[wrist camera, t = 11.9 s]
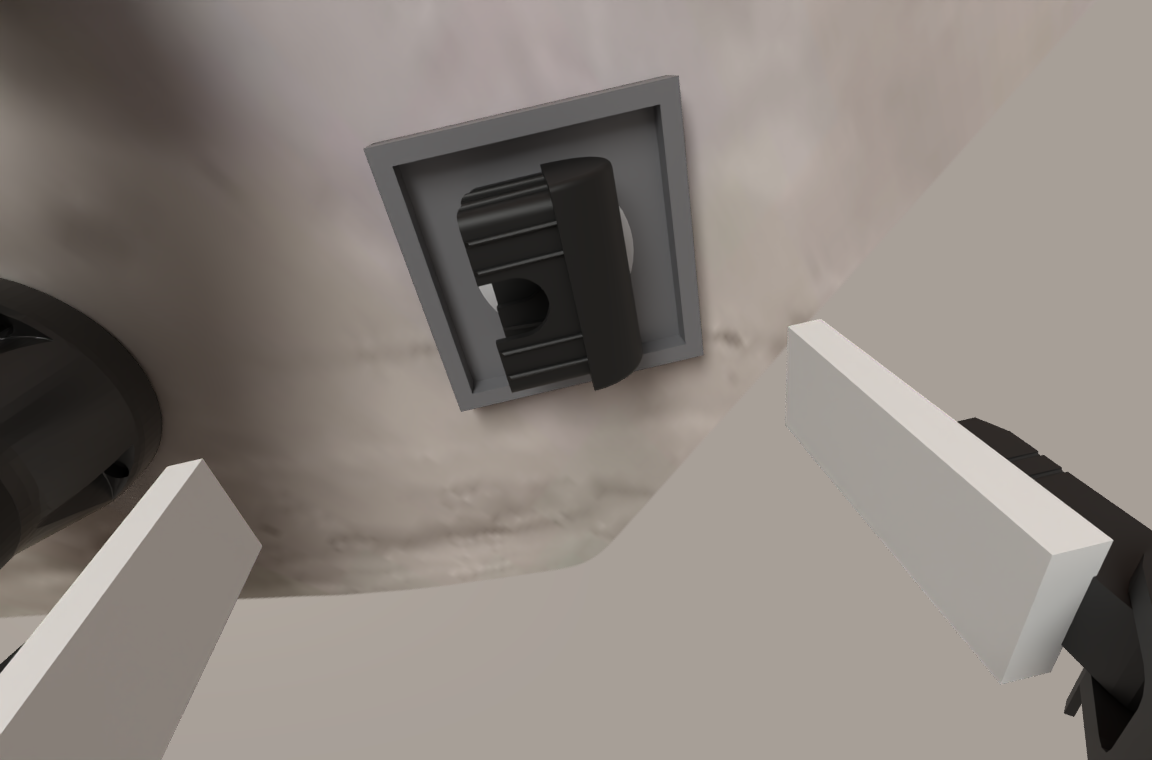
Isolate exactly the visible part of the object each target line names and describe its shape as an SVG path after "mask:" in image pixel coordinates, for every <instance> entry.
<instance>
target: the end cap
mask: <svg viewBox="0 0 1152 760" xmlns="http://www.w3.org/2000/svg"><path fill="white" fill-rule="evenodd" d="M540 167H541V172H539V173H535V174H531V175H527V176H522V177H518V178H514V179H510V180H506V181H502V182H498V183H494V184H490V185H486V186H481V187H477V188H475V189H473V190H471V191H470V192H469V193H467V194H465V195H464V197H463V198H462V200H461V207H460V209H458V212H457V222H458V226H459V230H460V233H461V237H462V240H463V243H464V246H465V249H466V252H467V255H468V258H469V262H470V265H471V268H472V271H473V274H474V277H475V280H476V283H477V286H478V287H479V286H483V285H487V284H491V283H492V287H493V290H494V293H495V297H496V300H497V303H498V305H497V311H498V314H499V317H500V321H501V324H502V327H503V330H504V334H505V337H506V338H502V339H498V340H496V346H497V349H498V352H499V355H500V358H501V361H502V364H503V368H504V371H505V374H506V377H507V380H508V383H509V386H510V389H511V392H512V393H514V392H518V391H522V390H526V389H531V388H535V387H539V386H543V385H547V384H551V383H555V382H559V381H563V380H568V379H572V378H576V377H580V376H584V375H588V374H590V375H591V379H592V382H593V386H594V389H595V391H596V390H599V389H603V388H606V387H608V386H611V385H613V384H616V383H618V382H619V381H621V380H623V379H625V378H626V377H627V376H628V375H630V374H631V373H632V372H633V371H634V370H635V369H636V368H637V367H638V366H639V364H640V362H641V360H642V355H643V348H642V342H641V336H640V330H639V324H638V318H637V312H636V306H635V300H634V294H633V288H632V282H631V276H630V270H629V264H628V258H627V252H626V246H625V240H624V234H623V228H622V221H621V215H620V209H619V203H618V197H617V191H616V185H615V179H614V173H613V167H612V164H611V162H610V161H609V160H608V159H605V158H602V157H578V158H570V159H564V160H559V161H553V162H549V163H544V164H540Z"/></svg>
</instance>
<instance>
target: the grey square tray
mask: <svg viewBox="0 0 1152 760" xmlns="http://www.w3.org/2000/svg"><path fill="white" fill-rule="evenodd" d="M364 152H365V155H366V157H367V160H368V163H369V165H370V168H371V171H372V173H373V176H374V179H375V182H376V184H377V187H378V190H379V192H380V195H381V198H382V200H383V203H384V206H385V208H386V211H387V214H388V217H389V219H390V222H391V225H392V227H393V230H394V233H395V235H396V238H397V241H398V243H399V246H400V249H401V251H402V254H403V257H404V260H405V262H406V265H407V268H408V270H409V273H410V276H411V278H412V281H413V284H414V286H415V289H416V292H417V295H418V297H419V300H420V303H421V305H422V308H423V311H424V313H425V316H426V319H427V321H428V324H429V327H430V329H431V332H432V335H433V338H434V340H435V343H436V346H437V348H438V351H439V354H440V356H441V359H442V362H443V364H444V367H445V370H446V373H447V375H448V378H449V381H450V383H451V386H452V389H453V391H454V394H455V397H456V399H457V402H458V405H459V407H460V410H461V412H462V411H466V410H471V409H475V408H479V407H484V406H488V405H492V404H496V403H501V402H505V401H509V400H514V399H518V398H522V397H526V396H531V395H535V394H539V393H543V392H548V391H552V390H556V389H561V388H565V387H569V386H573V385H578V384H582V383H586V382H591V381H592V379H591V375H590V374H588V375H584V376H580V377H576V378H572V379H568V380H563V381H559V382H555V383H551V384H547V385H543V386H539V387H535V388H531V389H526V390H522V391H518V392H514V393H512V392H511V389H510V386H509V383H508V380H507V377H506V374H505V371H504V368H503V364H502V361H501V358H500V355H499V352H498V349H497V346H496V340H498V339H502V338H506V337H505V334H504V330H503V327H502V324H501V321H500V317H499V314H498V311H497V305H498V303H497V300H496V297H495V293H494V290H493V287H492V283H491V284H487V285H483V286H479V287H478V286H477V283H476V280H475V277H474V274H473V271H472V268H471V265H470V262H469V258H468V255H467V252H466V249H465V246H464V243H463V240H462V237H461V233H460V230H459V226H458V222H457V212H458V209H460V207H461V200H462V198H463V197H464V195H465V194H467V193H469V192H470V191H471V190H473V189H475V188H477V187H481V186H486V185H490V184H494V183H498V182H502V181H506V180H510V179H514V178H518V177H522V176H527V175H531V174H535V173H539V172H541V167H540V164H544V163H549V162H553V161H559V160H564V159H570V158H578V157H602V158H605V159H608V160H609V161H610V162H611V164H612V167H613V173H614V179H615V185H616V191H617V197H618V203H619V209H620V215H621V221H622V228H623V234H624V240H625V246H626V252H627V258H628V264H629V270H630V276H631V282H632V288H633V294H634V300H635V306H636V312H637V318H638V324H639V330H640V336H641V342H642V348H643V355H642V360H641V362H640V364H639V366H638V367H637V368H636V369H635V370H634V371H638V370H642V369H646V368H651V367H655V366H659V365H663V364H668V363H672V362H676V361H681V360H685V359H689V358H693V357H698V356H702V355H703V344H702V332H701V321H700V310H699V299H698V287H697V276H696V265H695V254H694V243H693V231H692V220H691V209H690V198H689V186H688V175H687V164H686V153H685V141H684V130H683V119H682V108H681V96H680V85H679V76H673V75H665V76H661V77H657V78H653V79H648V80H644V81H640V82H635V83H631V84H627V85H622V86H618V87H614V88H609V89H605V90H601V91H597V92H592V93H588V94H584V95H579V96H575V97H571V98H566V99H562V100H558V101H554V102H549V103H545V104H541V105H536V106H532V107H528V108H523V109H519V110H515V111H510V112H506V113H502V114H498V115H493V116H489V117H485V118H480V119H476V120H472V121H467V122H463V123H459V124H454V125H450V126H446V127H442V128H437V129H433V130H429V131H424V132H420V133H416V134H411V135H407V136H403V137H399V138H394V139H390V140H386V141H381V142H377V143H373V144H371V145H369V146H368V147H366V148H364Z"/></svg>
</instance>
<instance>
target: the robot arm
mask: <svg viewBox="0 0 1152 760" xmlns="http://www.w3.org/2000/svg"><path fill="white" fill-rule="evenodd" d="M786 383H787V384H786V417H785V425H786V427H787V428H788V429H789V430H790V431H791V433H792V434H793V435H794V436H795V437H796V439H797V440H798V441H799V442H800V444H801V445H802V446H803V447H804V448H805V450H806V451H807V452H808V453H809V454H810V455H811V457H812V458H813V459H814V460H815V462H816V463H817V464H818V465H819V466H820V468H821V469H822V470H823V471H824V472H825V474H826V475H827V476H828V477H829V478H830V480H831V481H832V482H833V483H834V485H835V486H836V487H837V488H838V489H839V491H840V492H841V493H842V494H843V495H844V497H845V498H846V499H847V500H848V501H849V502H850V504H851V505H852V506H853V507H854V509H855V510H856V511H857V512H858V513H859V515H860V516H861V517H862V518H863V519H864V521H865V522H866V523H867V524H868V526H869V527H870V528H871V529H872V530H873V531H874V533H875V534H876V535H877V536H878V538H879V539H880V540H881V541H882V542H883V544H884V545H885V546H886V547H887V548H888V550H889V551H890V552H891V553H892V554H893V556H894V557H895V558H896V559H897V560H898V561H899V563H900V564H901V565H902V566H903V568H904V569H905V570H906V571H907V572H908V574H909V575H910V576H911V577H912V579H913V580H914V581H915V582H916V583H917V585H918V586H919V587H920V588H921V589H922V591H923V592H924V593H925V594H926V595H927V596H928V598H929V599H930V600H931V601H932V602H933V604H934V605H935V606H936V607H937V609H938V610H939V611H940V612H941V614H942V615H943V616H944V617H945V618H946V619H947V621H948V622H949V623H950V624H951V626H952V627H953V628H954V629H955V630H956V632H957V633H958V634H959V635H960V636H961V638H962V639H963V640H964V641H965V642H966V643H967V645H968V646H969V647H970V648H971V650H972V651H973V652H974V653H975V654H976V656H977V657H978V658H979V659H980V661H981V662H982V663H983V664H984V665H985V666H986V668H987V669H988V670H989V671H990V673H991V674H992V675H993V676H994V677H995V678H996V680H997V681H998V682H999V683H1000V684H1005V683H1009V682H1013V681H1017V680H1021V679H1025V678H1029V677H1032V676H1037V675H1041V674H1045V673H1049V672H1051V670H1052V668H1053V666H1054V664H1055V662H1056V660H1057V658H1058V656H1059V654H1060V652H1061V649H1062V647H1064V648H1065V649H1066V650H1067V651H1068V652H1069V653H1070V654H1071V655H1072V656H1073V657H1074V658H1075V659H1076V660H1077V661H1078V662H1079V663H1080V664H1081V665H1082V666H1083V667H1084V668H1083V671H1082V672H1081V674H1080V676H1079V678H1078V680H1077V681H1076V683H1075V685H1074V687H1073V689H1072V691H1071V693H1070V695H1069V697H1068V699H1067V701H1066V706H1065V710H1064V713H1065V714H1068V715H1070V716H1073V717H1074V716H1075V714H1076V712H1077V711H1078V709H1079V707H1080V705H1081V703H1082V711H1083V720H1084V728H1085V738H1086V747H1087V756H1088V760H1152V530H1150V529H1149V528H1147V527H1146V526H1145V525H1143V524H1142V523H1140V522H1139V521H1137V520H1136V519H1135V518H1133V517H1132V516H1130V515H1129V514H1127V513H1126V512H1125V511H1123V510H1122V509H1120V508H1119V507H1117V506H1116V505H1115V504H1113V503H1111V502H1110V501H1109V500H1107V499H1106V498H1104V497H1103V496H1102V495H1100V494H1099V493H1097V492H1096V491H1094V490H1093V489H1092V488H1090V487H1089V486H1087V485H1086V484H1084V483H1083V482H1082V481H1080V480H1079V479H1077V478H1076V477H1074V476H1073V475H1072V474H1070V473H1069V472H1065V473H1064V472H1063V471H1062V468H1061V467H1060V466H1058V465H1057V464H1056V463H1054V462H1053V461H1052V460H1050V459H1049V458H1047V457H1046V456H1044V455H1042V456H1040V455H1039V454H1038V451H1037V450H1036V449H1034V448H1033V447H1031V446H1030V445H1029V444H1027V443H1025V442H1024V441H1023V440H1021V439H1020V438H1019V437H1017V436H1016V435H1014V434H1013V433H1011V432H1010V431H1007V430H1005V429H1002V428H1000V427H998V426H995V425H993V424H990V423H988V422H985V421H982V420H980V419H977V418H971V419H966V420H962V421H958V422H957V421H955V420H954V419H953V418H951V417H950V416H949V415H947V414H946V413H945V412H943V411H942V410H941V409H939V408H938V407H937V406H935V405H934V404H933V403H931V402H930V401H929V400H927V399H926V398H925V397H923V396H922V395H921V394H920V393H918V392H917V391H916V390H914V389H913V388H912V387H910V386H909V385H908V384H906V383H905V382H904V381H902V380H901V379H900V378H898V377H897V376H896V375H894V374H893V373H892V372H890V371H889V370H888V369H886V368H885V367H884V366H882V365H881V364H880V363H879V362H877V361H876V360H875V359H873V358H872V357H871V356H869V355H868V354H867V353H865V352H864V351H863V350H861V349H860V348H859V347H857V346H856V345H855V344H853V343H852V342H851V341H849V340H848V339H847V338H845V337H844V336H843V335H841V334H840V333H839V332H837V331H836V330H835V329H833V328H832V327H831V326H830V325H828V324H827V323H826V322H824V321H823V320H821V319H819V320H814V321H810V322H805V323H801V324H796V325H792V326H788V342H787V380H786ZM161 432H162V420H161V413H160V408H159V404H158V401H157V398H156V395H155V392H154V390H153V388H152V386H151V384H150V382H149V380H148V379H147V377H146V375H145V374H144V372H143V371H142V369H141V368H140V366H139V365H138V364H137V362H136V361H135V360H134V358H133V357H132V356H131V355H130V354H129V353H128V351H127V350H126V349H125V348H124V347H123V346H122V345H121V344H120V343H119V342H118V341H117V340H116V339H114V338H113V337H112V336H111V335H110V334H109V333H108V332H106V331H105V330H104V329H103V328H102V327H100V326H99V325H98V324H96V323H95V322H94V321H92V320H91V319H89V318H88V317H86V316H85V315H83V314H82V313H80V312H79V311H77V310H75V309H74V308H72V307H70V306H69V305H67V304H65V303H63V302H61V301H59V300H57V299H55V298H53V297H51V296H49V295H47V294H45V293H42V292H40V291H38V290H35V289H33V288H30V287H27V286H25V285H22V284H19V283H16V282H13V281H9V280H6V279H2V278H0V569H1V568H2V567H3V566H4V565H5V564H6V563H7V562H8V561H9V560H10V559H11V558H12V557H13V556H14V555H16V554H17V553H19V552H21V551H23V550H25V549H26V548H28V547H30V546H32V545H34V544H36V543H38V542H39V541H41V540H43V539H45V538H47V537H49V536H50V535H52V534H54V533H56V532H58V531H60V530H62V529H63V528H65V527H67V526H69V525H71V524H73V523H74V522H76V521H78V520H80V519H82V518H84V517H86V516H87V515H89V514H91V513H93V512H95V511H97V510H98V509H100V508H102V507H104V506H106V505H107V504H109V503H110V502H112V501H113V500H114V499H116V498H117V497H118V496H120V495H121V494H122V493H123V492H124V491H125V490H126V489H127V488H128V487H129V486H130V485H131V484H132V483H133V482H134V481H135V480H136V478H137V477H138V476H139V475H140V474H141V473H142V472H143V471H144V470H145V468H146V467H147V466H148V465H149V464H150V462H151V461H152V459H153V458H154V456H155V454H156V452H157V449H158V447H159V443H160V439H161ZM261 548H262V545H261V543H260V542H259V540H258V539H257V537H256V536H255V534H254V533H253V531H252V530H251V528H250V527H249V526H248V524H247V523H246V521H245V520H244V518H243V517H242V515H241V514H240V512H239V511H238V509H237V508H236V507H235V505H234V504H233V502H232V501H231V499H230V498H229V496H228V495H227V493H226V492H225V490H224V489H223V488H222V486H221V485H220V483H219V482H218V480H217V479H216V477H215V476H214V474H213V473H212V471H211V470H210V468H209V467H208V466H207V464H206V463H205V461H204V460H203V459H198V460H194V461H189V462H185V463H180V464H176V465H172V466H167V467H166V469H165V470H164V471H163V472H162V474H161V475H160V476H159V477H158V479H157V480H156V481H155V482H154V484H153V485H152V486H151V487H150V489H149V490H148V491H147V492H146V494H145V495H144V496H143V497H142V498H141V500H140V501H139V502H138V503H137V505H136V506H135V507H134V508H133V510H132V511H131V512H130V513H129V515H128V516H127V517H126V518H125V520H124V521H123V522H122V523H121V525H120V526H119V527H118V528H117V529H116V531H115V532H114V533H113V534H112V536H111V537H110V538H109V539H108V541H107V542H106V543H105V544H104V546H103V547H102V548H101V549H100V551H99V552H98V553H97V554H96V555H95V557H94V558H93V559H92V560H91V562H90V563H89V564H88V565H87V567H86V568H85V569H84V570H83V572H82V573H81V574H80V575H79V577H78V578H77V579H76V580H75V582H74V583H73V584H72V585H71V586H70V588H69V589H68V590H67V591H66V593H65V594H64V595H63V596H62V598H61V599H60V600H59V601H58V603H57V604H56V605H55V606H54V608H53V609H52V610H51V611H50V613H49V614H48V615H47V616H46V617H45V619H44V620H43V621H42V622H41V624H40V625H39V626H38V628H37V629H36V630H35V631H34V633H33V634H32V635H31V636H30V637H29V639H28V640H27V641H26V642H25V643H24V644H23V645H22V646H20V647H19V648H18V649H17V650H16V651H15V652H14V653H12V655H10V656H9V657H8V658H7V659H6V660H5V661H3V662H2V663H1V664H0V760H161V759H162V757H163V755H164V753H165V751H166V749H167V747H168V744H169V742H170V740H171V738H172V736H173V734H174V732H175V730H176V728H177V726H178V723H179V721H180V719H181V717H182V715H183V713H184V711H185V709H186V707H187V704H188V702H189V700H190V698H191V696H192V694H193V692H194V689H195V687H196V685H197V683H198V681H199V679H200V677H201V675H202V673H203V671H204V669H205V666H206V664H207V662H208V660H209V658H210V656H211V654H212V651H213V650H214V647H215V645H216V643H217V641H218V639H219V637H220V635H221V633H222V631H223V628H224V626H225V624H226V622H227V620H228V618H229V616H230V614H231V611H232V609H233V607H234V605H235V603H236V601H237V599H238V597H239V595H240V593H241V590H242V588H243V586H244V584H245V582H246V580H247V578H248V576H249V573H250V571H251V569H252V567H253V565H254V563H255V561H256V559H257V557H258V554H259V552H260V550H261Z"/></svg>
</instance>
